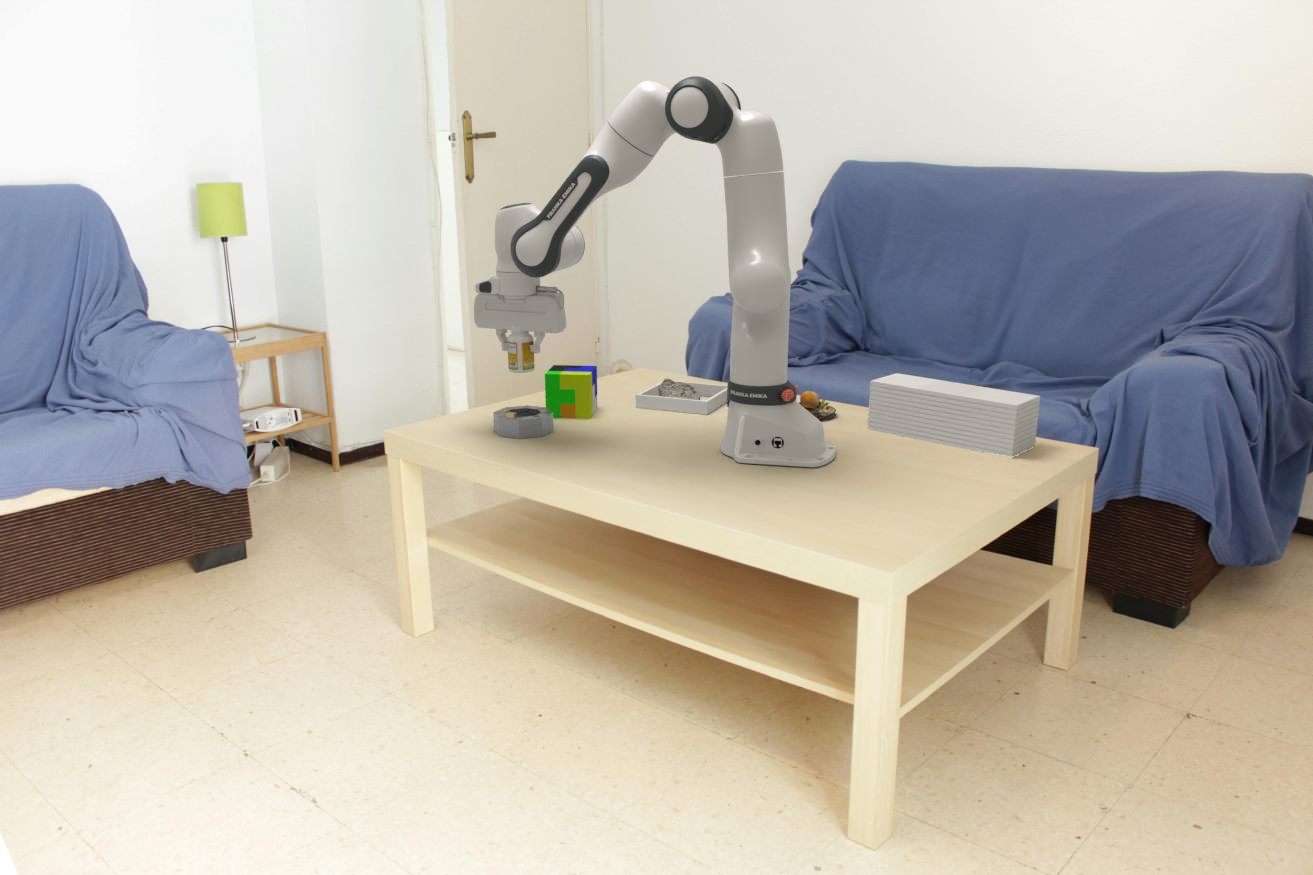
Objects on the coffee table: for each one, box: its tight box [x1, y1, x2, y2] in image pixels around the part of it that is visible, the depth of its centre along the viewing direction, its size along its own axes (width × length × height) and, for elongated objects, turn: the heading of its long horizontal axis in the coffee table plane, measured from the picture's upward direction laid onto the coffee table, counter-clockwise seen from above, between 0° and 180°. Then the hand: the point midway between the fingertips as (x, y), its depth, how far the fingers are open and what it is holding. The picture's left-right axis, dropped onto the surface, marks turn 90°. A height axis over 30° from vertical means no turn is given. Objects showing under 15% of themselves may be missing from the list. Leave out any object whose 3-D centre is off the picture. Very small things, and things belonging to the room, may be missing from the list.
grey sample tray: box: [635, 380, 728, 416], centre depth 237 cm, size 18×18×3 cm
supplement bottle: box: [507, 325, 535, 374], centre depth 208 cm, size 5×5×10 cm
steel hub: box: [492, 404, 555, 440], centre depth 212 cm, size 12×12×5 cm
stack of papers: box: [867, 372, 1041, 457], centre depth 206 cm, size 32×11×11 cm, turn 47°
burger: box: [798, 390, 837, 423], centre depth 225 cm, size 12×12×8 cm
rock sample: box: [657, 377, 701, 400], centre depth 233 cm, size 11×8×9 cm
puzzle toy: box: [544, 364, 598, 420], centre depth 227 cm, size 10×10×10 cm
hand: (521, 351), depth 208 cm, fingers closed on supplement bottle, 5 cm apart
